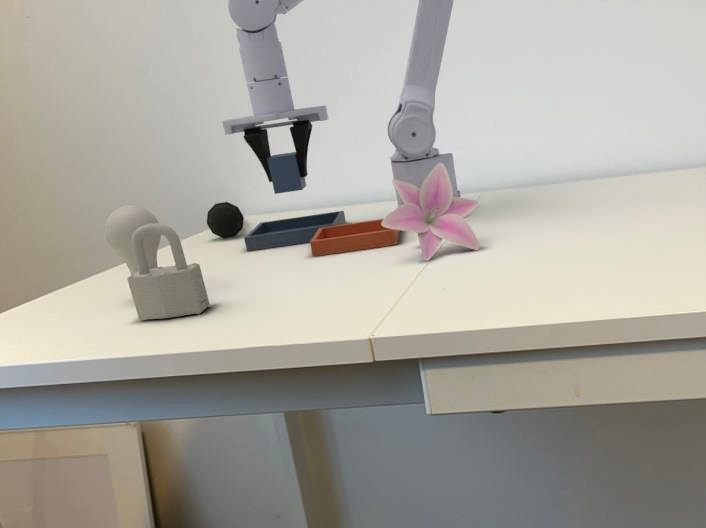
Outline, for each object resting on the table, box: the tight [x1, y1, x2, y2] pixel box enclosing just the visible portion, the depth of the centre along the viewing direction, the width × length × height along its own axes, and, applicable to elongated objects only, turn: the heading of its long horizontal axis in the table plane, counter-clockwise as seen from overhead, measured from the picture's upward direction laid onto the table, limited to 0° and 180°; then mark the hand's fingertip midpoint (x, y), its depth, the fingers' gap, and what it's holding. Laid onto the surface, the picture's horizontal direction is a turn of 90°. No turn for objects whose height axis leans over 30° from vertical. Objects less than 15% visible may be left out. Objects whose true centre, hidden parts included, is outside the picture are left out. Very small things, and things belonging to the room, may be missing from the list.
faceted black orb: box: [206, 201, 245, 239], centre depth 134 cm, size 6×6×20 cm
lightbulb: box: [104, 204, 162, 275], centre depth 96 cm, size 6×6×11 cm
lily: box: [381, 163, 481, 262], centre depth 98 cm, size 12×12×10 cm
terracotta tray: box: [309, 218, 401, 257], centre depth 110 cm, size 11×9×2 cm
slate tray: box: [243, 210, 347, 252], centre depth 120 cm, size 13×11×2 cm
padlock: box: [127, 222, 211, 321], centre depth 86 cm, size 7×4×10 cm, turn 87°
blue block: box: [267, 151, 307, 195], centre depth 116 cm, size 4×4×5 cm
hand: (288, 178), depth 117 cm, fingers closed on blue block, 4 cm apart
